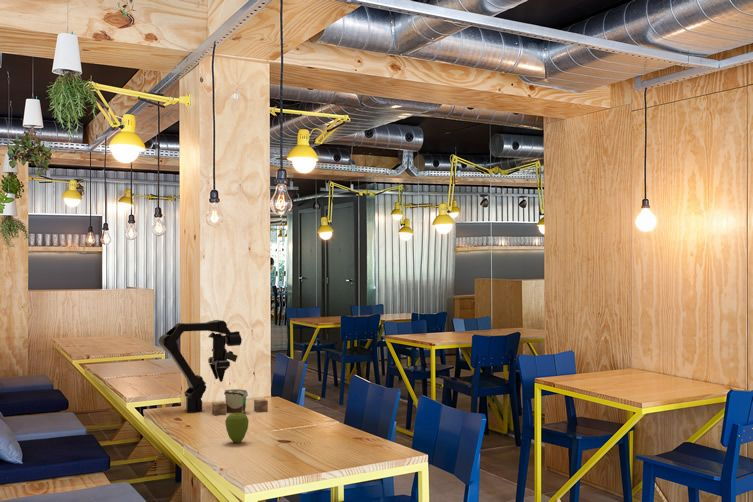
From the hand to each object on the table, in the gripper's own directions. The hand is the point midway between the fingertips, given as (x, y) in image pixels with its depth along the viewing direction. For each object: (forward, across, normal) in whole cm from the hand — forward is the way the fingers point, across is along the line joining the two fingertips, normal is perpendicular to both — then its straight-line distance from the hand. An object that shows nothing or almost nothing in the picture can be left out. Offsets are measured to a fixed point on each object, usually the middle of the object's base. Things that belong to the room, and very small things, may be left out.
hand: (218, 380), depth 335 cm
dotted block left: (+13, -14, +3) cm, 19 cm away
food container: (+13, -14, -6) cm, 20 cm away
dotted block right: (+13, -15, -16) cm, 25 cm away
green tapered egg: (+13, -70, +9) cm, 72 cm away
